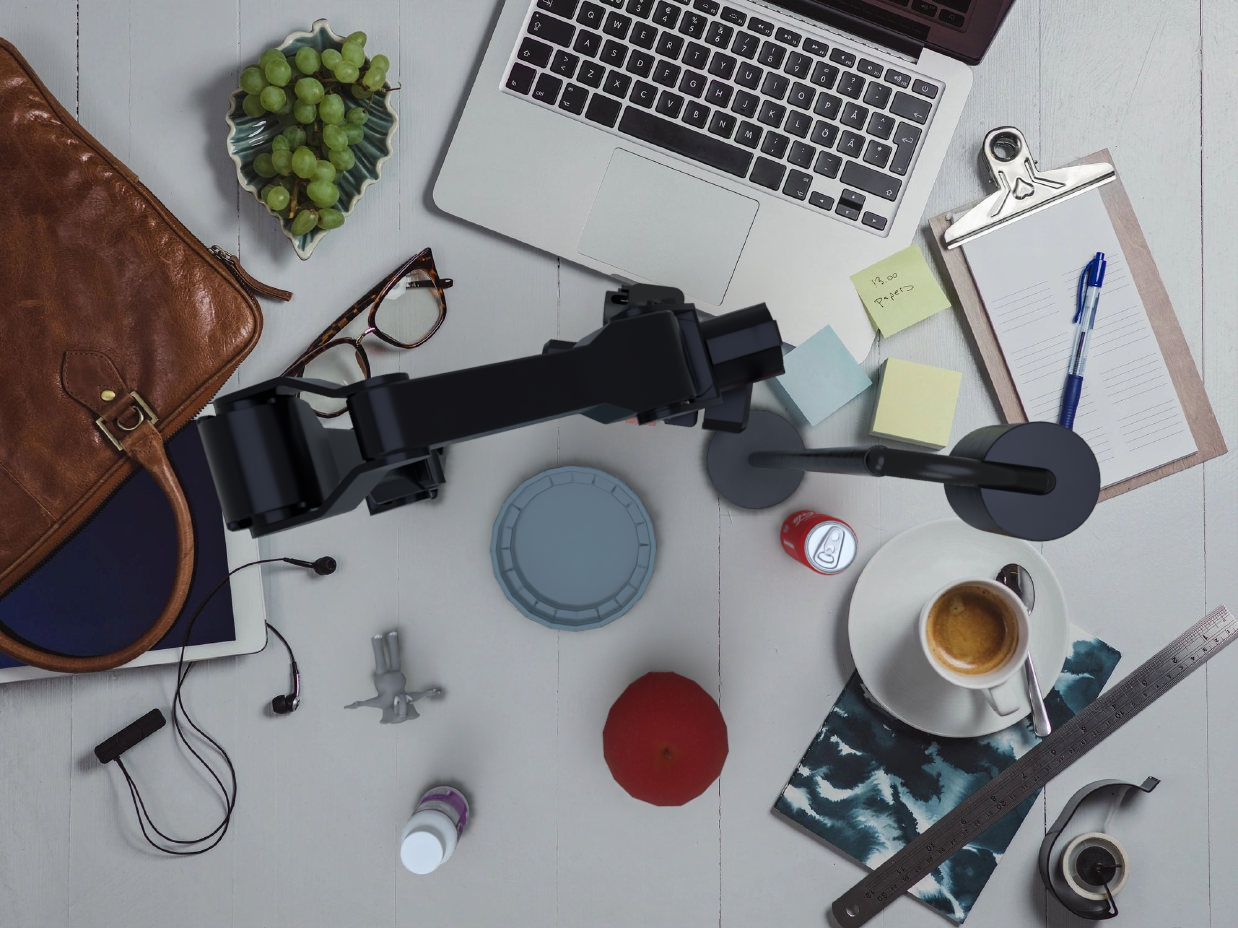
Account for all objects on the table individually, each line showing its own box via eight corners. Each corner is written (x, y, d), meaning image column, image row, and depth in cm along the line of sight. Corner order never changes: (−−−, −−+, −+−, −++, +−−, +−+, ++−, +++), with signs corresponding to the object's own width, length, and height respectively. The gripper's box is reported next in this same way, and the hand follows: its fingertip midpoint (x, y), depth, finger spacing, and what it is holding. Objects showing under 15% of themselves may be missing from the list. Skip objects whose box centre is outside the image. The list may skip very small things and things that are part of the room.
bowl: (488, 612, 86) (481, 619, 82) (508, 456, 86) (501, 456, 82) (644, 632, 86) (644, 641, 82) (664, 476, 86) (665, 477, 82)
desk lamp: (699, 501, 86) (768, 549, 41) (712, 404, 86) (795, 347, 41) (855, 521, 85) (1095, 591, 41) (867, 424, 85) (1122, 387, 41)
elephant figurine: (440, 621, 87) (456, 709, 83) (418, 637, 91) (432, 722, 88) (345, 631, 80) (357, 726, 77) (325, 648, 85) (336, 739, 81)
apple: (628, 638, 86) (627, 671, 73) (735, 676, 86) (754, 716, 72) (589, 747, 86) (581, 800, 73) (696, 786, 86) (707, 846, 73)
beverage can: (770, 548, 86) (792, 563, 74) (789, 501, 86) (815, 509, 74) (817, 567, 86) (847, 585, 74) (837, 520, 85) (869, 531, 73)
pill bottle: (453, 845, 87) (430, 893, 77) (409, 817, 87) (381, 862, 77) (480, 801, 86) (460, 844, 77) (436, 773, 87) (412, 813, 77)
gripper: (774, 293, 67) (748, 324, 82) (543, 265, 67) (560, 301, 83) (756, 432, 67) (733, 436, 83) (526, 402, 67) (546, 413, 83)
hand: (643, 394), depth 83 cm, fingers closed on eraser, 3 cm apart
